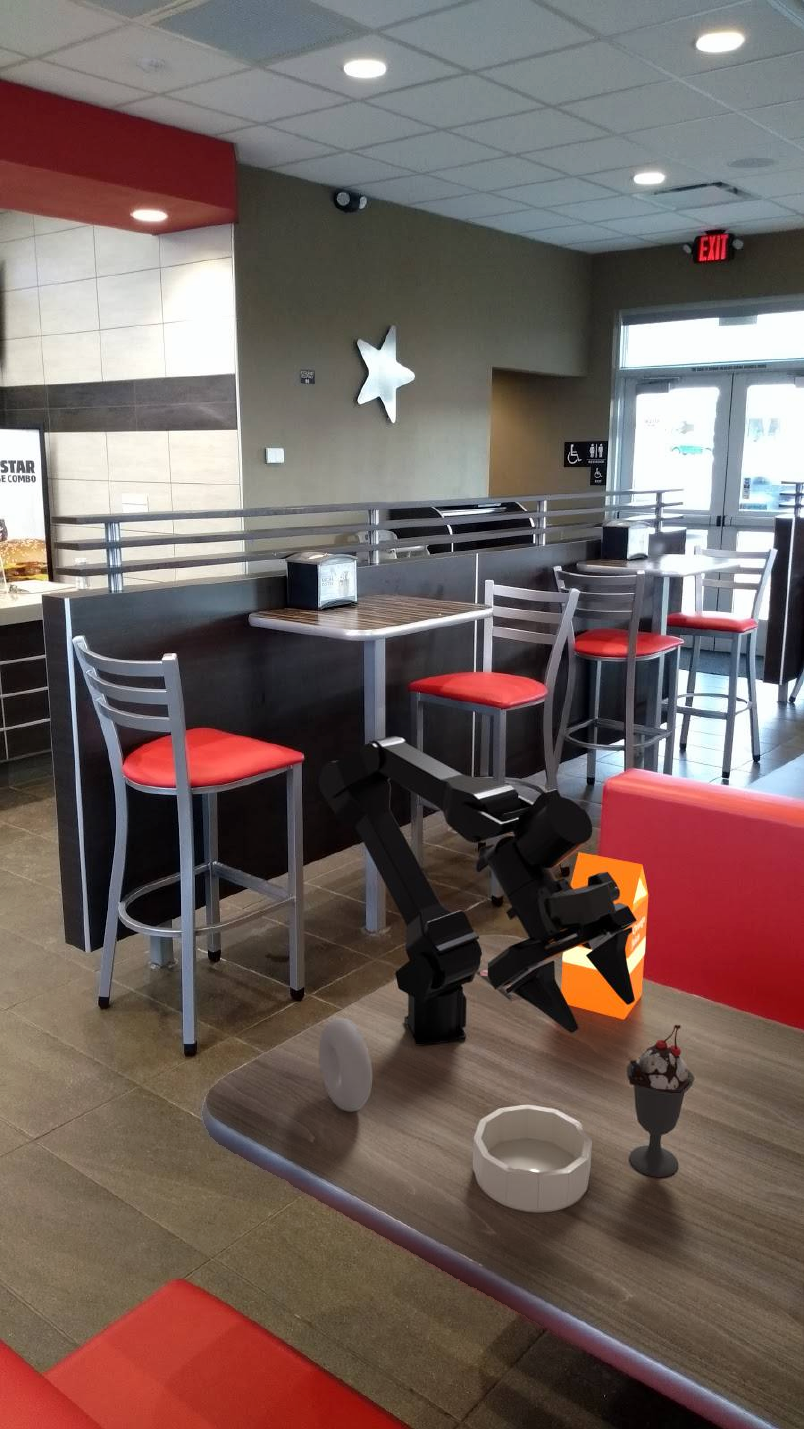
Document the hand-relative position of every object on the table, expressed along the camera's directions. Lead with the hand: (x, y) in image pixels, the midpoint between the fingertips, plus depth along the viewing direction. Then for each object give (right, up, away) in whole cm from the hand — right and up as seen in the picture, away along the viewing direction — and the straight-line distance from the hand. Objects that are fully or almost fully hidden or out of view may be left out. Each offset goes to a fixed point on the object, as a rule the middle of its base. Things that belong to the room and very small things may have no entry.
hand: (604, 1016), depth 113 cm
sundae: (+5, -14, -2) cm, 15 cm away
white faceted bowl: (-8, -15, -4) cm, 17 cm away
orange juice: (+5, -6, +31) cm, 32 cm away
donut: (-28, -12, +7) cm, 31 cm away
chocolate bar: (-7, -6, +35) cm, 36 cm away
